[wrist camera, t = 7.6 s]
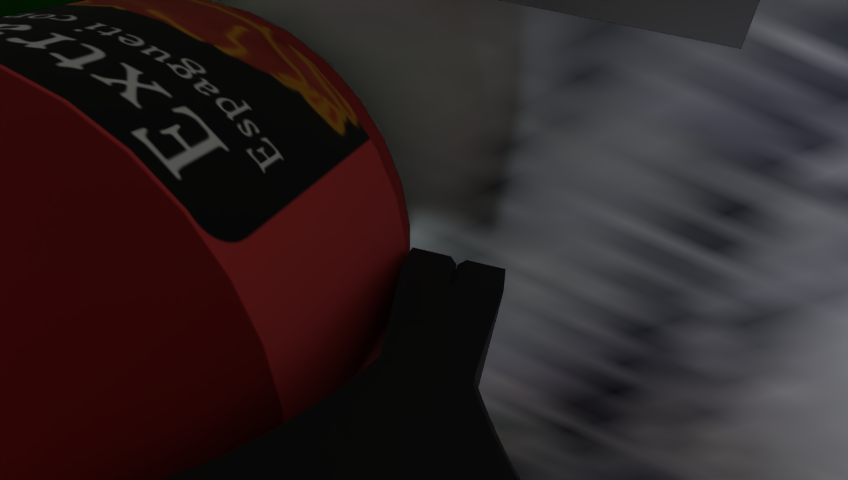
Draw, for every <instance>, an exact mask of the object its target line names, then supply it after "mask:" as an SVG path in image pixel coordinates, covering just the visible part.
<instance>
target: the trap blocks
mask: <svg viewBox="0 0 848 480" xmlns="http://www.w3.org/2000/svg"><path fill="white" fill-rule="evenodd" d="M500 1H505V2H510V3H515V4H520V5H525V6H530V7H535V8H540V9H545V10H550V11H555V12H560V13H565V14H570V15H575V16H580V17H585V18H590V19H595V20H600V21H605V22H610V23H615V24H620V25H625V26H630V27H635V28H640V29H645V30H650V31H655V32H660V33H665V34H670V35H675V36H680V37H685V38H690V39H695V40H700V41H705V42H710V43H715V44H719V45H724V46H729V47H734V48H739V49H741V48H742V45H743V43H744V40H745V37H746V35H747V32H748V29H749V27H750V24H751V22H752V19H753V16H754V14H755V11H756V9H757V6H758V3H759V1H760V0H500Z"/></svg>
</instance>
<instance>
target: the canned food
mask: <svg viewBox="0 0 848 480" xmlns="http://www.w3.org/2000/svg"><path fill="white" fill-rule="evenodd" d="M409 252H410V224H409V219H408V213H407V208H406V203H405V198H404V193H403V188H402V183H401V180H400V178H399V175H398V173H397V170H396V168H395V165H394V162H393V160H392V157H391V155H390V152H389V150H388V147H387V145H386V142H385V140H384V138H383V136H382V135H381V133H380V131H379V130H378V128H377V127H376V125H375V123H374V122H373V120H372V118H371V117H370V115H369V114H368V112H367V110H366V109H365V107H364V105H363V104H362V102H361V100H360V99H359V98H358V97H357V95H356V94H355V93H354V92H353V91H352V90H351V89H350V87H349V86H348V85H347V84H346V83H345V82H344V81H343V80H342V78H341V77H340V76H339V75H338V74H337V73H336V72H335V70H334V69H333V68H332V67H331V66H330V65H329V64H328V63H327V62H326V61H325V60H324V59H322V58H321V57H320V56H319V55H317V54H316V53H315V52H314V51H312V50H311V49H310V48H308V47H307V46H306V45H305V44H303V43H302V42H301V41H300V40H298V39H297V38H296V37H294V36H293V35H292V34H291V33H289V32H287V31H285V30H283V29H281V28H279V27H277V26H275V25H273V24H272V23H270V22H268V21H266V20H264V19H262V18H260V17H258V16H256V15H254V14H252V13H250V12H247V11H243V10H240V9H236V8H232V7H229V6H225V5H222V4H218V3H214V2H211V1H207V0H85V1H80V2H75V3H70V4H65V5H60V6H55V7H50V8H45V9H40V10H35V11H30V12H25V13H20V14H15V15H10V16H5V17H0V480H163V479H165V478H168V477H170V476H173V475H175V474H178V473H180V472H183V471H185V470H188V469H190V468H193V467H195V466H198V465H200V464H203V463H205V462H208V461H210V460H212V459H214V458H217V457H219V456H221V455H223V454H225V453H227V452H229V451H231V450H233V449H235V448H237V447H239V446H241V445H243V444H245V443H247V442H249V441H251V440H253V439H254V438H256V437H258V436H260V435H262V434H264V433H266V432H268V431H270V430H272V429H274V428H276V427H278V426H280V425H281V424H283V423H285V422H286V421H288V420H290V419H292V418H293V417H295V416H297V415H298V414H300V413H302V412H303V411H305V410H306V409H308V408H309V407H311V406H312V405H314V404H315V403H317V402H318V401H320V400H321V399H323V398H324V397H326V396H327V395H329V394H330V393H332V392H333V391H335V390H336V389H338V388H339V387H340V386H342V385H343V384H344V383H346V382H347V381H348V380H350V379H351V378H353V377H354V376H355V375H356V374H358V373H359V372H360V371H362V370H363V369H364V368H365V367H366V366H368V365H369V364H370V363H371V362H372V361H374V360H375V359H376V358H377V357H378V356H380V353H381V350H382V347H383V343H384V339H385V334H386V330H387V326H388V321H389V317H390V313H391V309H392V304H393V300H394V296H395V292H396V287H397V283H398V279H399V275H400V270H401V267H402V265H403V263H404V261H405V259H406V257H407V256H408V254H409Z"/></svg>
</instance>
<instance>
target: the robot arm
mask: <svg viewBox="0 0 848 480" xmlns="http://www.w3.org/2000/svg"><path fill="white" fill-rule="evenodd" d="M455 269H456V270H455ZM504 281H505V269H503V268H498V267H494V266H490V265H485V264H481V263H477V262H473V261H468V260H466V261H464V262H462V263H460V264H458V266H457V268H456V263H455V262H454V260H453V259H452V257H451V256H447V255H443V254H438V253H434V252H430V251H425V250H421V249H417V248H413V247H412V249H411V251H410V252H409V254H408V256H407V257H406V259H405V261H404V263H403V265H402V267H401V270H400V275H399V279H398V283H397V287H396V292H395V296H394V300H393V304H392V309H391V313H390V317H389V321H388V326H387V330H386V334H385V339H384V343H383V347H382V350H381V353H380V356H378V357H377V358H376V359H375V360H374V361H372V362H371V363H370V364H369V365H368V366H366V367H365V368H364V369H363V370H362V371H360V372H359V373H358V374H356V375H355V376H354V377H353V378H351V379H350V380H348V381H347V382H346V383H344V384H343V385H342V386H340V387H339V388H338V389H336V390H335V391H333V392H332V393H330V394H329V395H327V396H326V397H324V398H323V399H321V400H320V401H318V402H317V403H315V404H314V405H312V406H311V407H309V408H308V409H306V410H305V411H303V412H302V413H300V414H298V415H297V416H295V417H293V418H292V419H290V420H288V421H286V422H285V423H283V424H281V425H280V426H278V427H276V428H274V429H272V430H270V431H268V432H266V433H264V434H262V435H260V436H258V437H256V438H254V439H253V440H251V441H249V442H247V443H245V444H243V445H241V446H239V447H237V448H235V449H233V450H231V451H229V452H227V453H225V454H223V455H221V456H219V457H217V458H214V459H212V460H210V461H208V462H205V463H203V464H200V465H198V466H195V467H193V468H190V469H188V470H185V471H183V472H180V473H178V474H175V475H173V476H170V477H168V478H165V479H163V480H520V478H519V476H518V475H517V473H516V471H515V469H514V468H513V466H512V464H511V462H510V460H509V458H508V456H507V454H506V452H505V450H504V448H503V446H502V444H501V442H500V439H499V437H498V435H497V433H496V431H495V429H494V426H493V424H492V422H491V419H490V417H489V415H488V412H487V410H486V407H485V405H484V402H483V400H482V397H481V394H480V391H479V389H478V386H479V382H480V378H481V375H482V371H483V367H484V363H485V360H486V356H487V352H488V348H489V344H490V341H491V337H492V333H493V329H494V325H495V322H496V318H497V314H498V310H499V306H500V303H501V299H502V295H503V291H504Z"/></svg>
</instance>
